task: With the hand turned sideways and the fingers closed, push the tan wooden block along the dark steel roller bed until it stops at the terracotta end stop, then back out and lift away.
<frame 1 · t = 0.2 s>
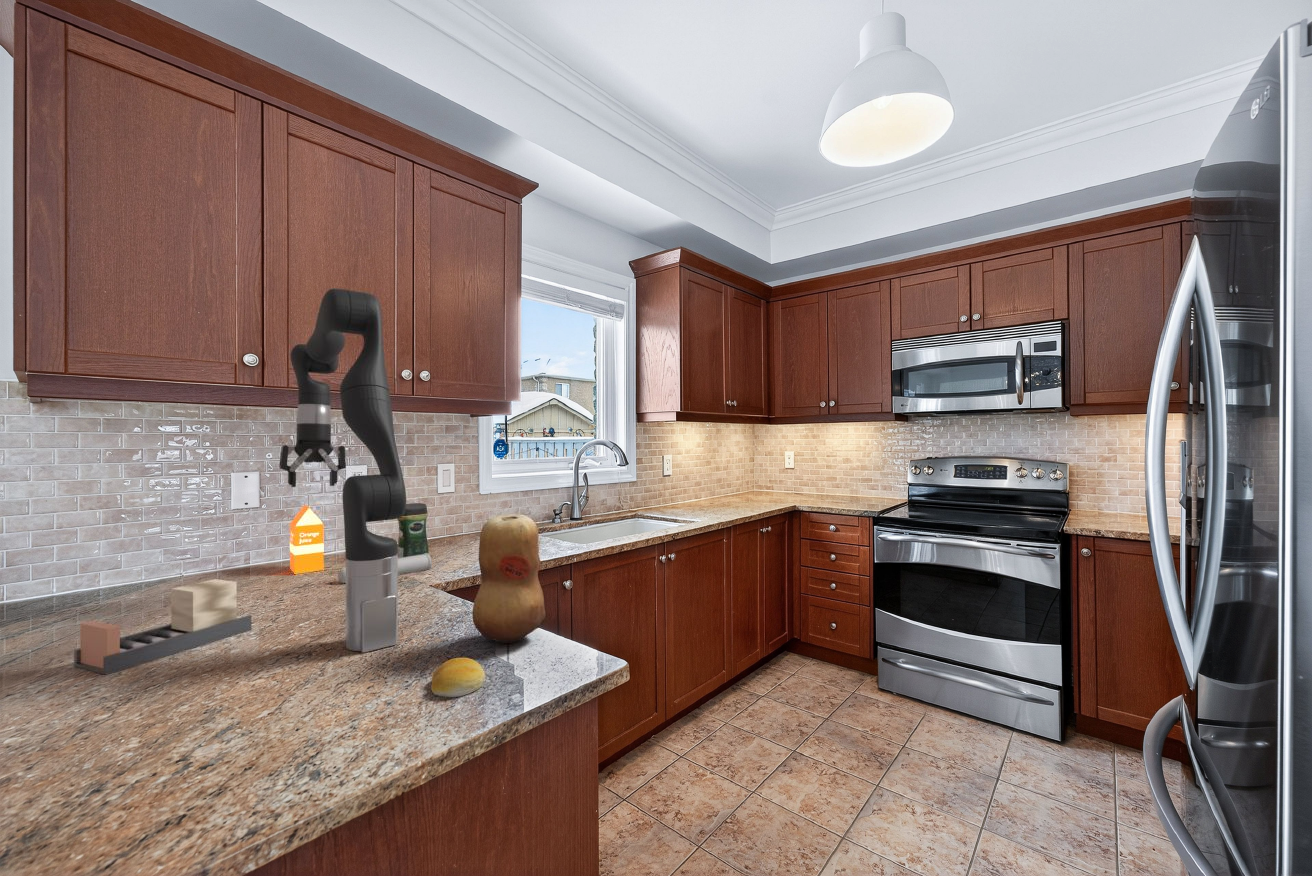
hand: (313, 486, 141), 28 cm above the countertop, tool pointing down, fingers open, 8 cm apart
end stop: (100, 644, 98), point 4 cm above the countertop
tube: (385, 577, 163), on the countertop
bread roll: (457, 687, 91), on the countertop
coffee jar: (412, 558, 188), on the countertop
orange juice: (306, 571, 171), on the countertop
roller bed: (170, 646, 108), on the countertop
tan wooden block: (204, 604, 114), point 7 cm above the countertop, slide at 0.0 cm
butternut squash: (509, 641, 110), on the countertop
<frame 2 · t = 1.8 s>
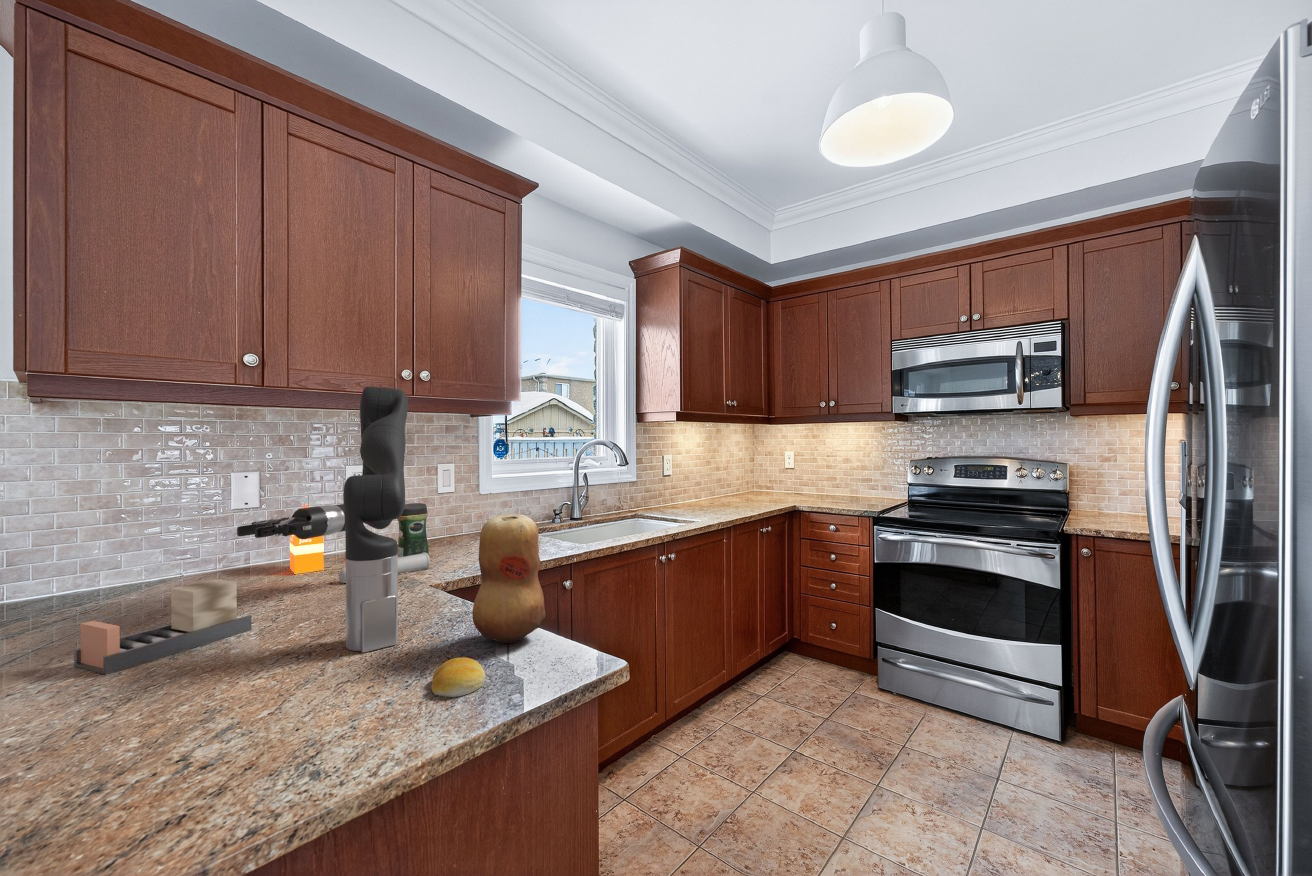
hand: (247, 532, 122), 20 cm above the countertop, tool horizontal, fingers open, 5 cm apart
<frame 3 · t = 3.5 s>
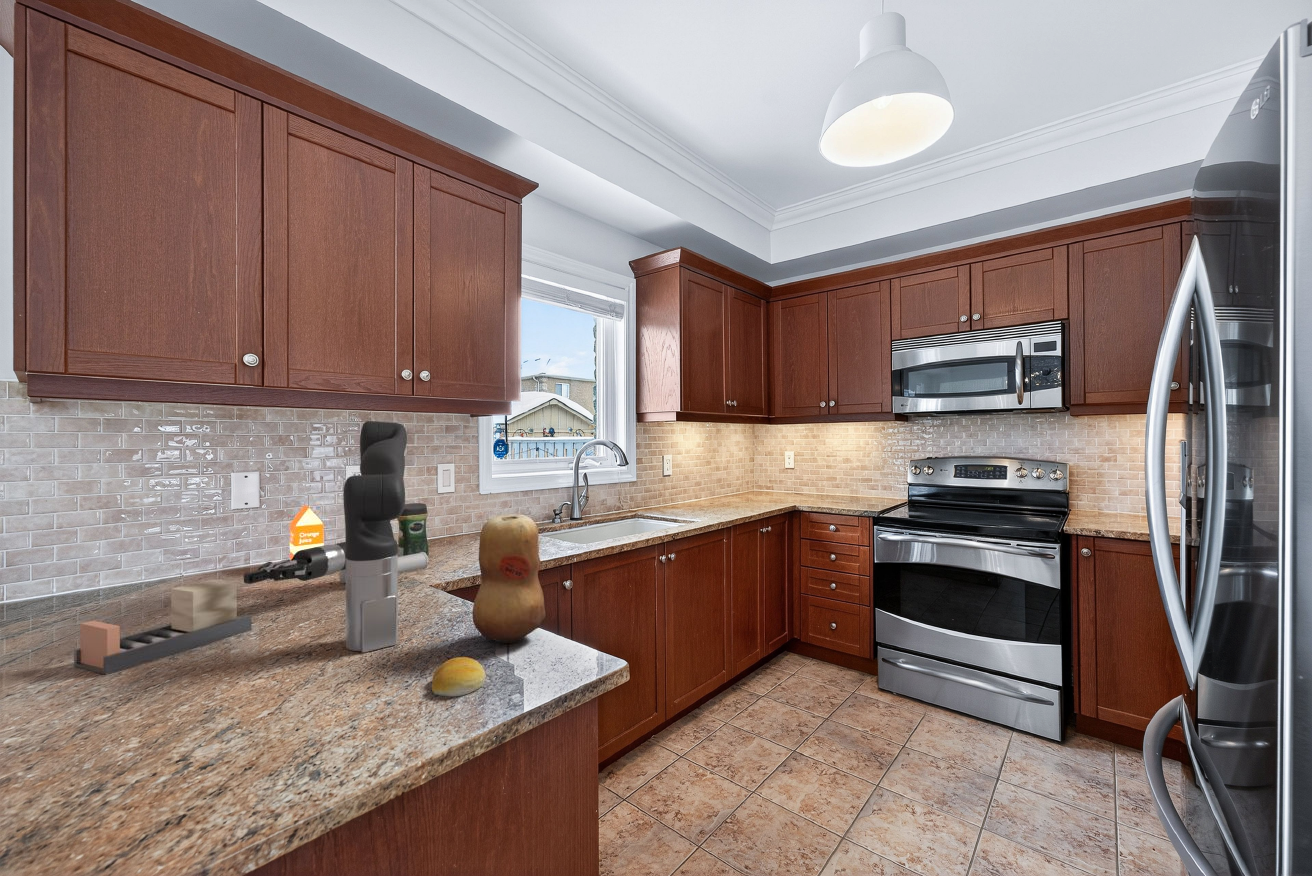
hand: (246, 579, 122), 10 cm above the countertop, tool horizontal, fingers closed
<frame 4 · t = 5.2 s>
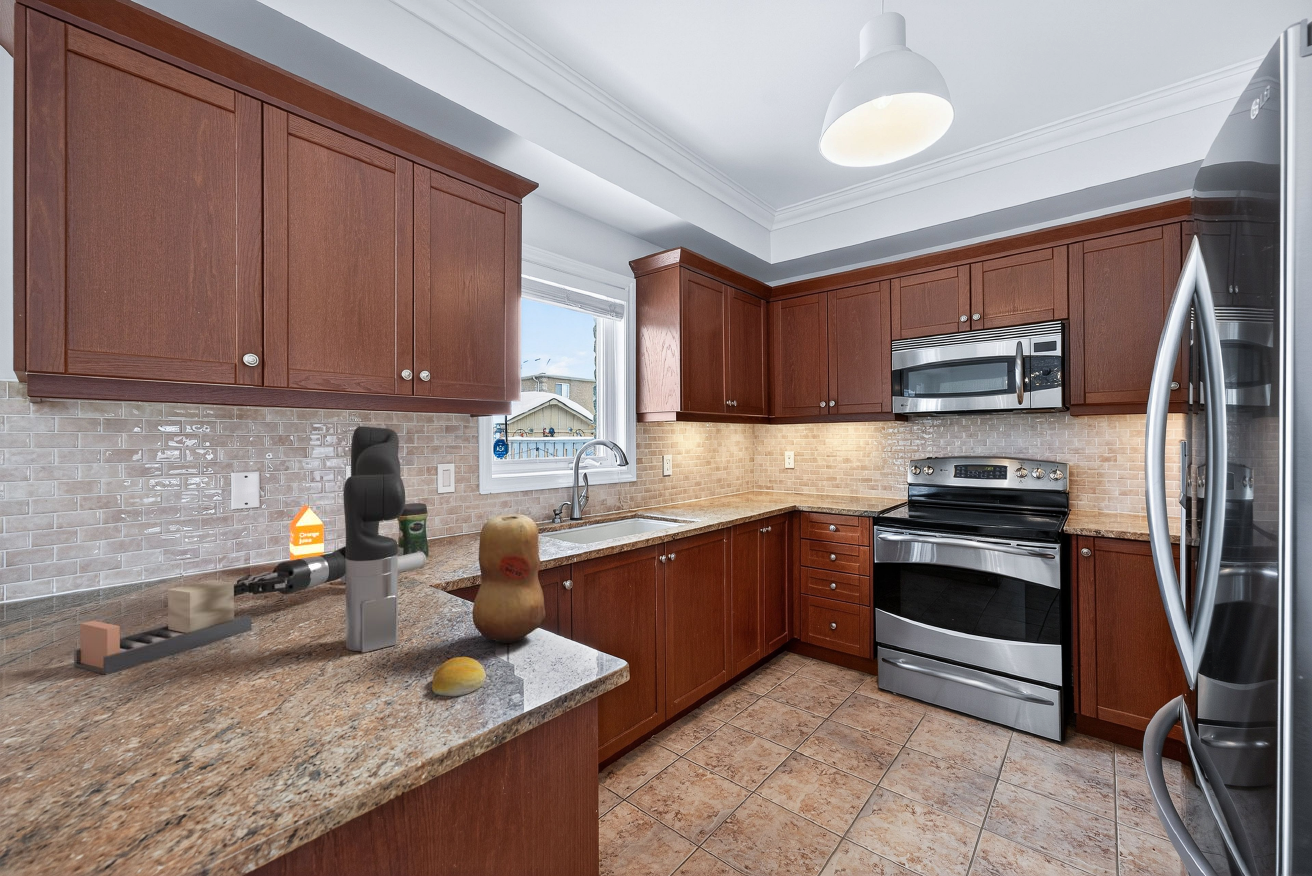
hand: (223, 592, 117), 8 cm above the countertop, tool horizontal, fingers closed
tan wooden block: (201, 605, 113), point 7 cm above the countertop, slide at 0.5 cm, touching gripper
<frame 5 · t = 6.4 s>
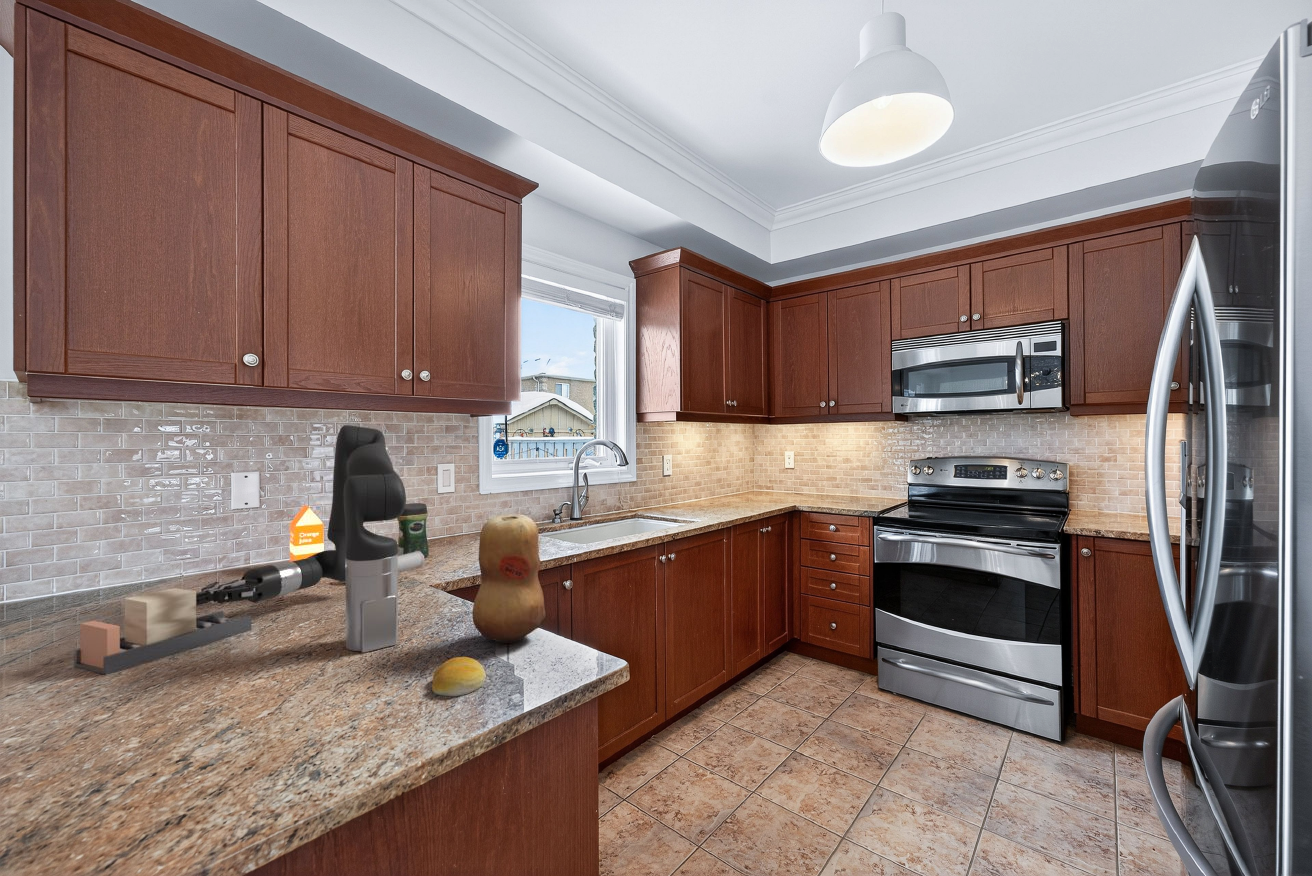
hand: (185, 602, 111), 8 cm above the countertop, tool horizontal, fingers closed
tan wooden block: (161, 615, 107), point 7 cm above the countertop, slide at 7.5 cm, touching gripper
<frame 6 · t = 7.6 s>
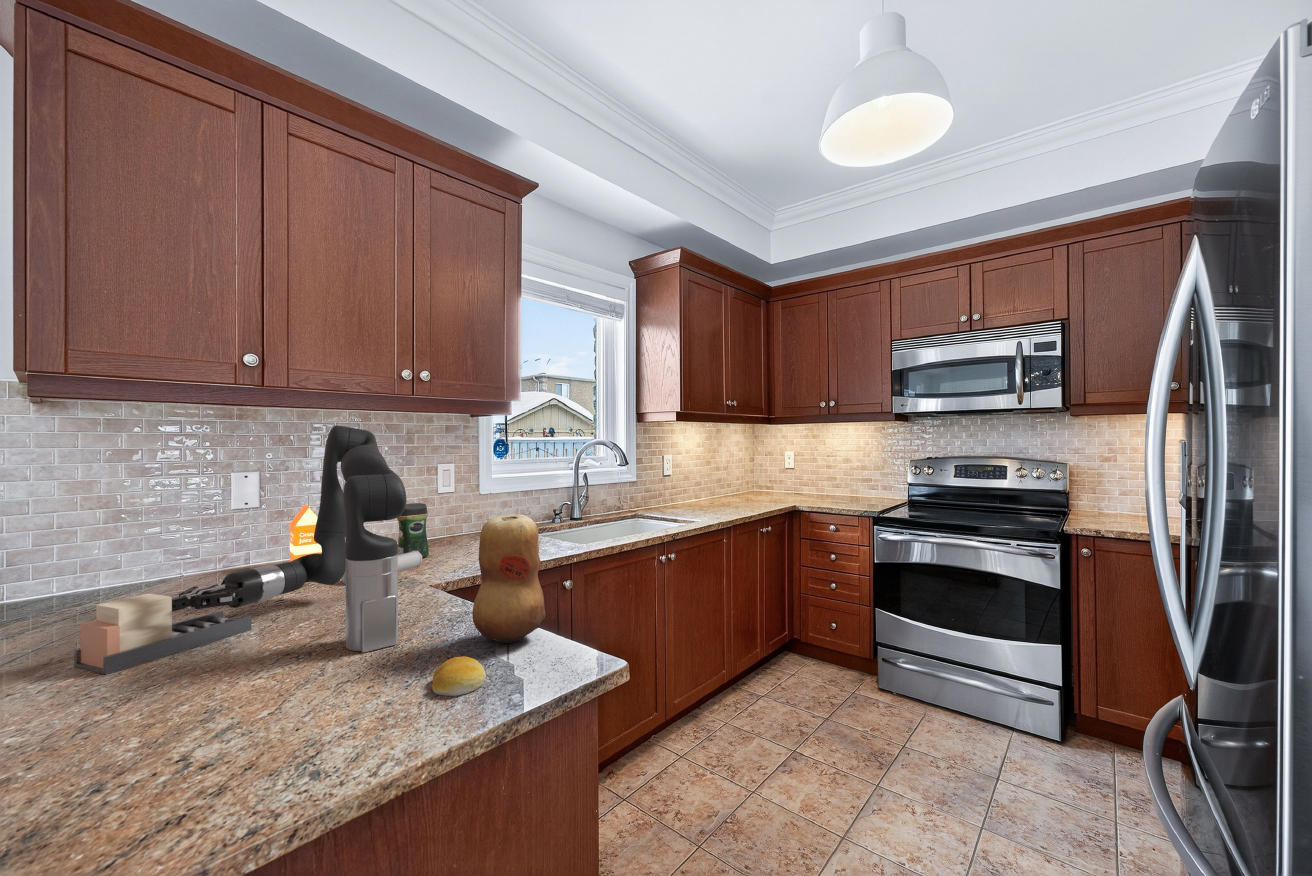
hand: (160, 607, 107), 8 cm above the countertop, tool horizontal, fingers closed
tan wooden block: (135, 622, 103), point 7 cm above the countertop, slide at 11.6 cm, touching gripper
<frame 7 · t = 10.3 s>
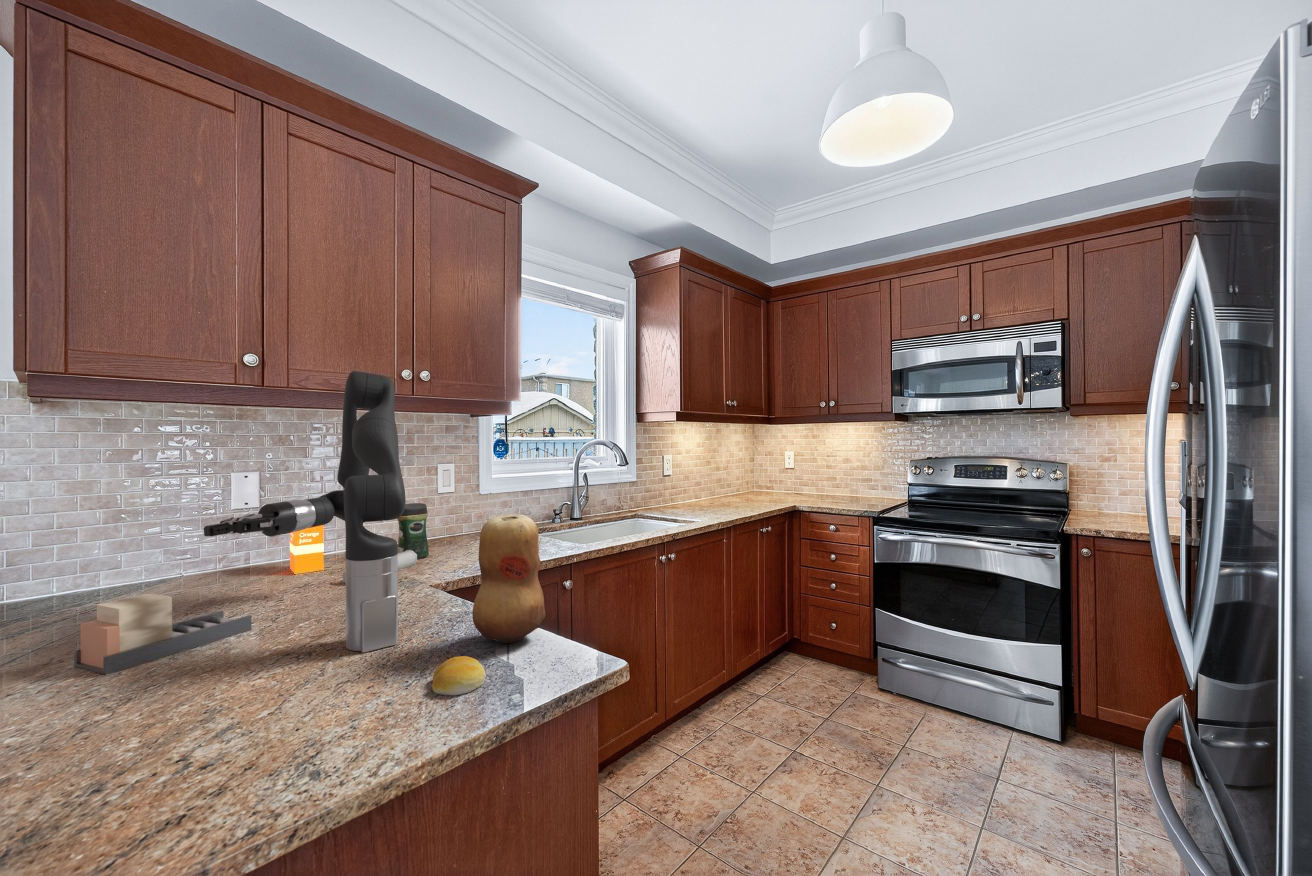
hand: (206, 531, 114), 22 cm above the countertop, tool horizontal, fingers closed
tan wooden block: (135, 622, 103), point 7 cm above the countertop, slide at 11.5 cm
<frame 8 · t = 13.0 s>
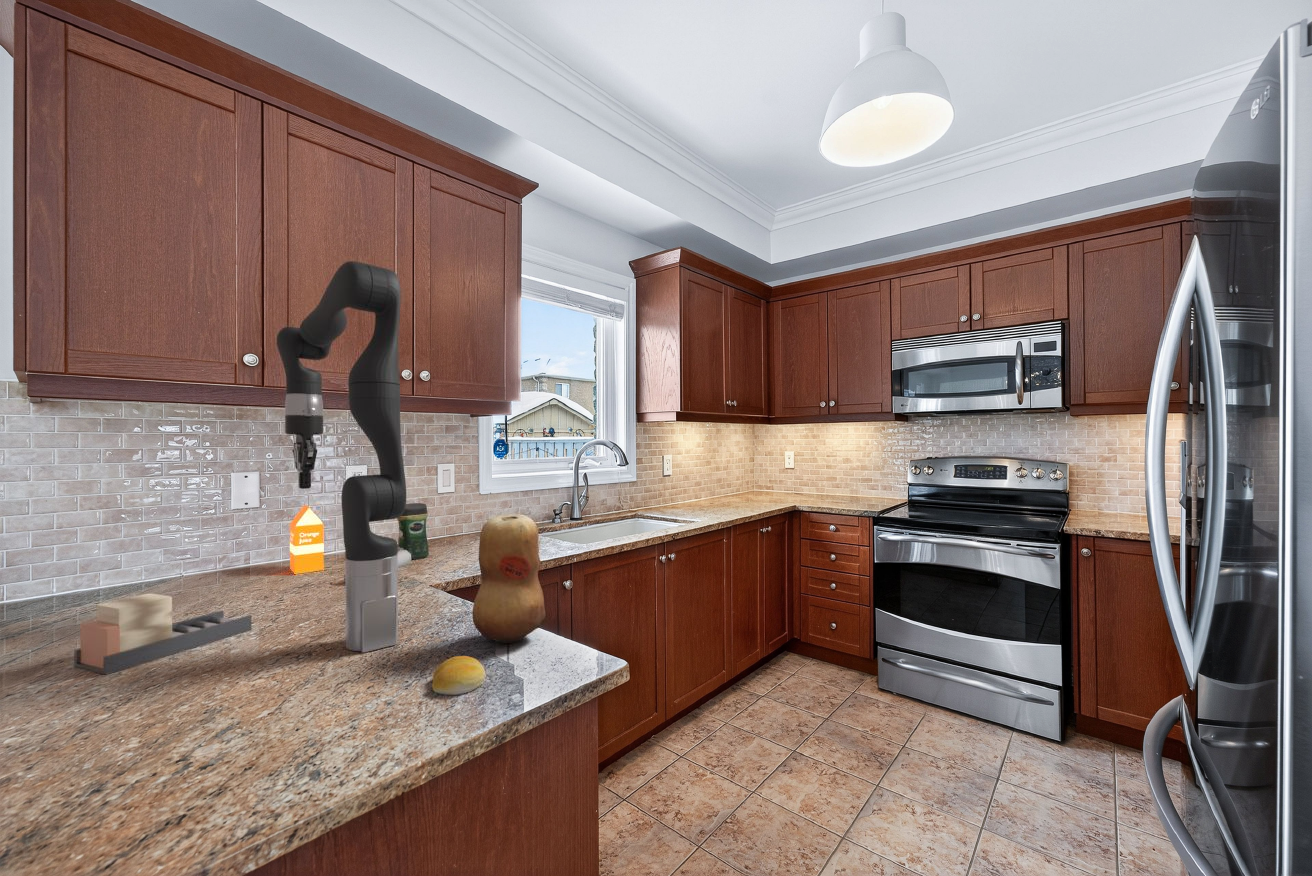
hand: (304, 488, 129), 29 cm above the countertop, tool pointing down, fingers closed
at the end: tan wooden block slide at 11.5 cm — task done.
